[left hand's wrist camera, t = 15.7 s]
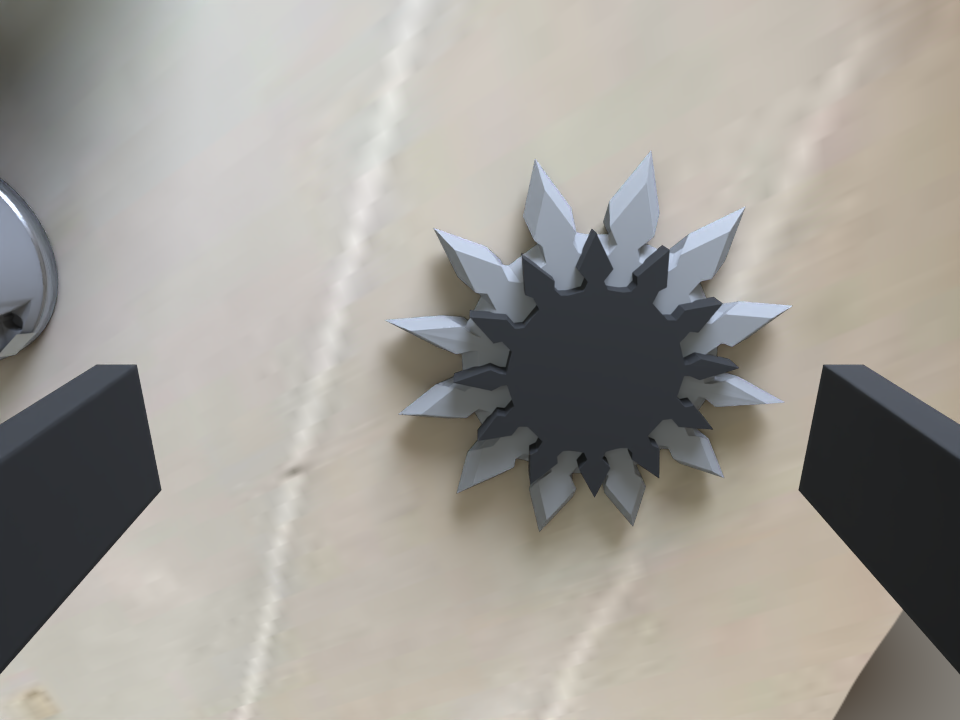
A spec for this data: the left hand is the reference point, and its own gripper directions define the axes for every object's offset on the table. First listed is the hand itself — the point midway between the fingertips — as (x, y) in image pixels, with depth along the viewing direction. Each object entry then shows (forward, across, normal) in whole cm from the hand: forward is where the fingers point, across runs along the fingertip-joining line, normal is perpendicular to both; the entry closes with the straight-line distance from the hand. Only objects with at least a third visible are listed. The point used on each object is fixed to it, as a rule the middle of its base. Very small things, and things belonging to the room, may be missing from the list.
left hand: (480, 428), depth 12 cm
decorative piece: (+34, +8, -11) cm, 36 cm away
